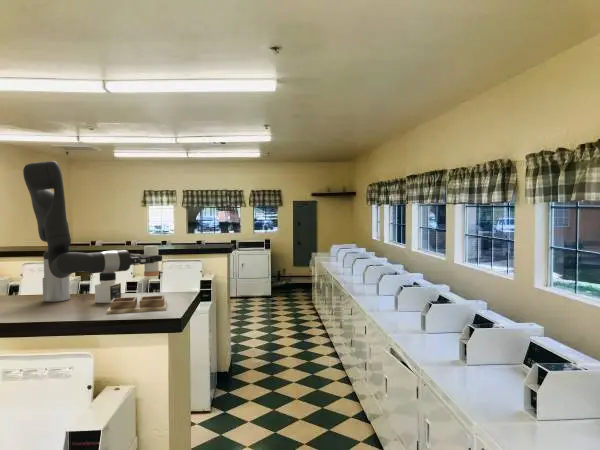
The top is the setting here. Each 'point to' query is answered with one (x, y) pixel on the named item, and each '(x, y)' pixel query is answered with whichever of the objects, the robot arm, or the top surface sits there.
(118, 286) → the medicine bottle
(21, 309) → the top surface
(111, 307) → the socket board
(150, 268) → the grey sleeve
